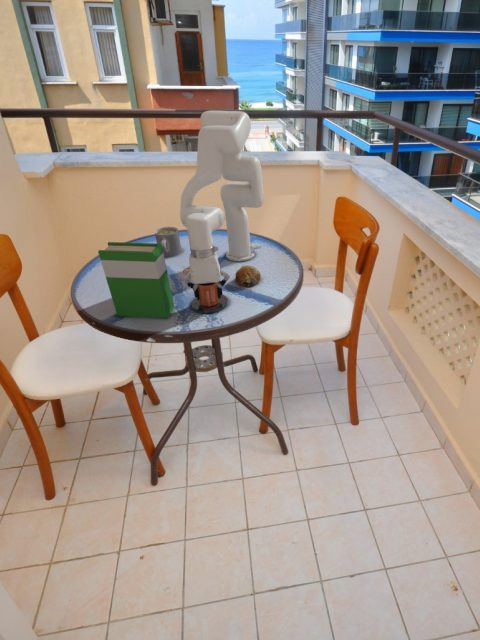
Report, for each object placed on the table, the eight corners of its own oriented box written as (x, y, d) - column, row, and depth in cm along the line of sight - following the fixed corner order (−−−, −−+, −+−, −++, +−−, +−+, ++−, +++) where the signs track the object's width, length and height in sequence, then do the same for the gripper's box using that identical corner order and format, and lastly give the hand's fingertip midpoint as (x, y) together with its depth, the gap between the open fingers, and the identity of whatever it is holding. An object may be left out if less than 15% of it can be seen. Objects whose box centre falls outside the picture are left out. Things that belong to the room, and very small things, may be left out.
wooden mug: (200, 297, 151) (197, 278, 147) (219, 295, 152) (216, 276, 148) (199, 311, 143) (196, 291, 139) (219, 309, 144) (216, 289, 140)
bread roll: (263, 287, 167) (265, 267, 166) (253, 288, 158) (255, 267, 156) (241, 283, 170) (243, 264, 168) (229, 284, 160) (232, 263, 159)
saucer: (220, 291, 157) (220, 289, 157) (233, 307, 148) (233, 305, 147) (187, 300, 152) (186, 298, 151) (198, 317, 142) (198, 315, 142)
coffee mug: (165, 246, 191) (161, 226, 186) (185, 248, 190) (181, 227, 184) (151, 258, 181) (146, 237, 175) (172, 260, 179) (168, 239, 173)
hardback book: (117, 315, 143) (97, 251, 129) (126, 304, 149) (108, 242, 135) (167, 318, 142) (153, 253, 128) (174, 306, 148) (161, 243, 134)
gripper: (228, 245, 142) (233, 290, 152) (176, 248, 140) (184, 294, 150) (229, 254, 136) (234, 300, 146) (174, 257, 134) (183, 305, 144)
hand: (209, 297), depth 148 cm, fingers closed on wooden mug, 6 cm apart
